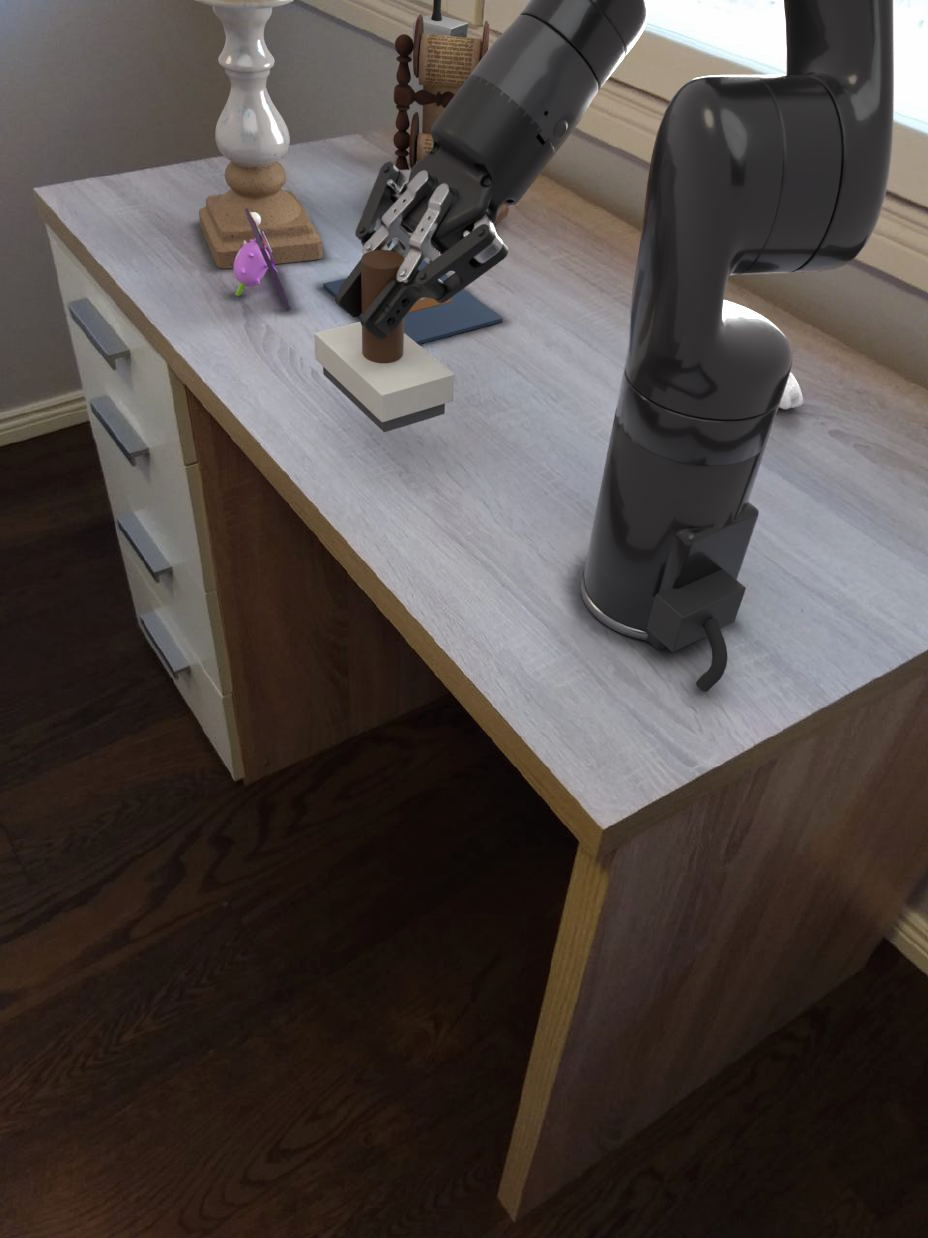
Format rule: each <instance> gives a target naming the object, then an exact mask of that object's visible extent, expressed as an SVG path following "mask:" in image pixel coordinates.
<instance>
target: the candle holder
mask: <svg viewBox="0 0 928 1238" xmlns="http://www.w3.org/2000/svg"><path fill="white" fill-rule="evenodd" d="M193 1H194V2H196V3H200V4H202V5H207V6H210V7H212V11H213V13H214V16H216V18H217V19H218V20H219V22H220V23H221V24H222V26H223V27H222V28H223V30H224V35H225V42H224V45H223V46H224V47H223V48H222V50H221V53H220V54H219V55H218V59H217V61H218V64H219V66H220V67H222V68H223V69H224V73H225V75H226V76H227V78H228V80H229V83H230V91H229V95H228V98H227V100H226V103H225V104H224V107H223V109H222V110H221V113H220V114H219V117H218V119H217V122H216V124H215V128H214V142H215V145H216V148H217V149H218V151H219V152H220V154H221V155H223V157H224V158H226V159H227V160H228V161H230V162H229V163H228V164H227V166H226V167H225V169H224V180H225V183H226V185H228V187H229V188H230V189H229V190H228V191H227V192H225V193H224V194H217V195H216V194H215V195H210V196H207V197H206V198H205V206H204V207H201V208H199V209H198V217H199V227H200V230H201V234H202V235H203V237H204V240H205V242H206V245H207V248H208V249H209V252H210V254H211V257H212V258H213V261H214V263H215V264H216V266H217V268H219V269H234V261H235V258H236V255H237V253H238V252H239V250H240V249H241V248H242V247H243V246H244V240H245V241H246V243H250V242H251V241H249V240H251V239H252V240H254V239H255V240H256V238H255V236H254V233H253V231H252V228H251V225H250V223H249V220H248V217H247V215H246V212H245V210H244V209H246V208H248V209H249V211H250V212H256V213H258V214H259V215H260V217H261V222H260V224H259V225H258V226H257V227H259V228H258V229H259V230H260V232H261V234H262V236H263V238H264V240H265V241H264V240H263V238H262V236H261V238H262V240H263V242H264V244H265V246H266V249H267V250H268V253H269V256H270V258H271V260H272V262H273V259H274V261H275V265H277V264H288V263H290V264H291V263H298V262H309V261H314V260H315V261H316V260H321V259H323V257H324V255H323V241H322V239H321V236H320V234H319V232H318V231H317V229H316V227H315V226H314V224H313V223H312V221H311V219H310V217H309V215H308V213H307V211H306V210H305V208H304V206H303V205H302V203H301V201H300V200H299V198H298V197H297V196H296V194H294V193H293V191H291V190H290V189H282V188H283V187H284V186H285V184H286V181H287V174H286V173H287V172H286V170H285V169H284V167H283V165H282V164H281V163H280V162H279V161H280V160H281V159H283V158H284V156H285V155H286V154H287V152H288V151H289V149H290V145H291V134H290V131H289V128H288V126H287V123H286V121H285V119H284V118H283V116H282V114H281V113H280V112H279V110H278V109H277V107H276V105H275V104H274V102H273V101H272V98H271V96H270V94H269V92H268V89H267V82H268V78H269V76H270V74H271V69H272V68H273V67H274V66H275V63H276V60H275V58H274V56H273V55H272V53H271V52H270V50H269V48H268V47H267V44H266V41H265V28H266V24H267V23H268V22H269V20H270V18H271V16H272V14H273V8H276V7H282V6H285V5H288V4H291V3H292V2H294V1H295V0H193ZM262 231H263V232H264V234H263V232H262ZM264 235H265V236H264ZM265 237H266V239H267V241H268V243H269V245H270V248H271V250H272V252H271V250H270V251H269V249H270V248H269V249H268V247H269V245H268V243H267V241H266V239H265ZM265 242H266V243H265ZM266 244H267V245H266ZM267 246H268V247H267ZM270 252H271V253H270ZM271 254H272V255H271ZM272 256H273V258H272Z"/></svg>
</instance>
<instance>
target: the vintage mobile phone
mask: <svg viewBox="0 0 928 1238" xmlns="http://www.w3.org/2000/svg"><path fill="white" fill-rule="evenodd" d="M416 20H417V18H416V19H415V20H414V21H413V22H412V37H411V38H412V40H413V43H414V33H415V26H416ZM423 23H424V33H426V34H436V35H446V36H456V37H466V38H468V30H469V22H467V21H464V20H463V21H462V20H459V19H455V18H452V17H447V16H444V15H442V0H433V4H432V13H431V14H429V15H426V16H423ZM411 58H412V61H411V80H410V82H411V83H410V86H411V87H412V89H413V90H414V92H417V91H419V90H423V85H419V78H416V76H415V75H414V70H413V51H412V53H411ZM415 112H418V115H419V133H422V123H423V105H419V104H418V103H417V102H415V101H414V102H413V104H410V118H409V122H410V126H409V131H410V130H411V123H412V118H413V115H414V114H415ZM416 163H417V161H416ZM408 166H409V170H410V169H411V167H410V164H409V163H408Z"/></svg>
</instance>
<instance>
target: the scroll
mask: <svg viewBox="0 0 928 1238" xmlns="http://www.w3.org/2000/svg"><path fill="white" fill-rule="evenodd" d="M423 17H424V16H423V14H419V15H418V16H417V18H416V19H417V20H416V19H415V20H416V26H415V33H414V43H413V40H412V37H411V36H410V35H409V34H406V33H403V34H400V35H398V36H397V37H396V39H395V41H394V49H395V52H396V53H397V54H398V56H397V57H396V58H395V59H396V61H397V62H399V64H398V67H397V71H396V75H395V77H396V81H397V84H396V85H395V86H394V89H393V102H394V104H395V109H397V110H398V112H397V115H396V119H395V127H396V129H397V131H396V132H395V133H394V135H393V138H392V139H393V145H394V147H395V148H396V150H395V151H394V155H395V156H397V158H396V161H395V163H394V165H395V166H396V167H397V168H398V169H399V170H409V164H410V167H411V169H410V170H412V168H413V166H414V165H415V164H416V161H417V162H418V161H420V160H421V159H423V158H424V157H425V156H426V155H427V154H428V153H429V152H430V151H431V150H432V148H433V139H432V136H431V128H432V125H433V124H434V123H435V121H436V120H437V119H438V117H439V116H440V115H441V113H442V112H443V110H444V109H445V108H446V106H447V105H448V104H449V102H450V101H451V100H452V98H453V97H454V96H455V94H456V93H457V92H458V90H459V89H460V87H461V86H462V85H463V83H464V82H465V81H466V79H467V78H468V77H469V75H470V74H471V73H472V71H473V70H474V69H475V67H476V66H477V65H478V63H479V62H480V61H481V59H482V58H483V56H484V55H485V54H486V52H487V51H488V50H489V44H490V43H489V42H490V23H489V22H488V20H485V22H484V25H483V31H482V38H474V37H467V38H466V37H456V36H446V35H436V34H426V33H424V23H423ZM412 51H413V70H414V75H415V76H416V78H419V85H423V90H419V91H417V92H414V90H413V89H412V87H411V84H410V82H411V76H412V73H411V70H410V66H409V63H410V62H411V63H412V57H410V55H412ZM414 101H415V102H417V103H418V104H419V105H423V123H422V133H419V115H418V112H415V114H414V115H413V118H412V123H411V130H410V118H409V114H408V111H409V110H411V104H413V102H414ZM408 130H409V132H408ZM407 149H408V150H407ZM407 157H408V159H407ZM509 210H510V206H508V205H504V204H503V205H502V207H501V209H500V212H499V215H498V218H497V220H496V222H495V224H494V226H496V225H498V224H499V223H502V221H504V220H505V219H506V217H507V216H508V215H509ZM401 225H403V226H406V225H405V224H404V223H403V222H402V221H401Z"/></svg>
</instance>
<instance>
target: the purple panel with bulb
mask: <svg viewBox="0 0 928 1238" xmlns="http://www.w3.org/2000/svg"><path fill="white" fill-rule="evenodd" d="M244 210H245V212H246V215H247V217H248V220H249V223H250V225H251V228H252V231H253V233H254V236H255V238H256V240H255V239H254V240H252V239H251V240H249V241H251V242H250V243H246V241H245V240H244V246H243V247H242V248H241V249H240V250H239V252H238V253H237V255H236V258H235V261H234V268H233V273H234V276H235V278H236V280H237V281H238V282H239V285H238V286H237V287H238V288H236V289H235V290H236V292H235V296H237V297H240V296H241V295H242V293H243V291H244V290H245V288H246V287H254V286H256V285H260V283H261V280H262V279H263V278H264V277H265V274H266V272H267V270H269V273H270V275H271V277H272V280H273V282H274V284H275V286H276V289H277V291H278V293H279V295H280V298H281V299H282V301H283V303H284V307H285V308H286V310H287V311H289V310H291V309H292V307H291V304H290V302H289V299H288V297H287V295H286V291H285V290H284V287H283V284H282V282H281V279H280V276H279V272H278V269H276V267H275V266H276V264H275V261H274V259H273V262H272V260H271V258H270V256H269V253H268V250H267V249H266V246H265V244H264V242H263V240H264V238H263V236H262V234H261V232H260V230H259V229H258V228H259V227H257V226H258V225H259V224H260V222H261V217H260V215H259V214H258V213H256V212H250V211H249V209H248V208H246V209H244ZM262 232H263V231H262ZM263 234H264V232H263ZM261 236H262V238H263V240H262V238H261ZM264 236H265V235H264ZM265 239H266V237H265ZM264 241H265V240H264ZM266 241H267V239H266ZM265 243H266V242H265ZM267 243H268V241H267ZM266 245H267V244H266ZM268 245H269V243H268ZM267 247H268V246H267ZM269 248H270V245H269V247H268V249H269ZM270 250H271V248H270V249H269V251H270ZM271 252H272V250H271ZM271 252H270V253H271ZM271 255H272V254H271ZM272 258H273V256H272Z"/></svg>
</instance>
